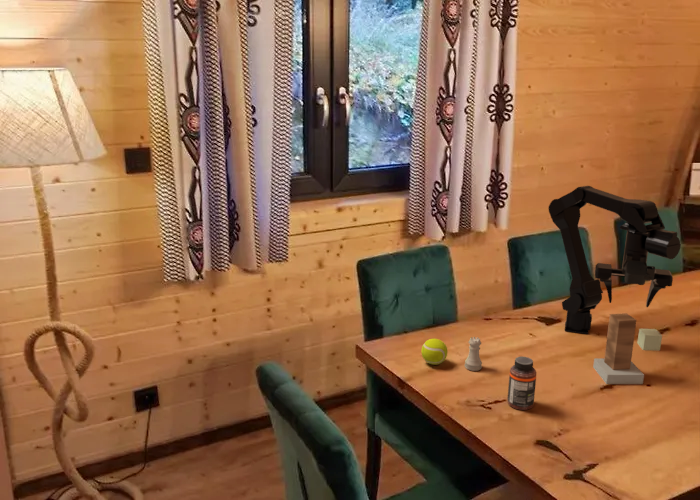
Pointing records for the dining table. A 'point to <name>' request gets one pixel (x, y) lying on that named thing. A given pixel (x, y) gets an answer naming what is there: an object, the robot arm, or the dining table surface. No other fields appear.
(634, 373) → the slate slab
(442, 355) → the tennis ball
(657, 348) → the sage cube
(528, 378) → the supplement bottle
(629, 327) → the walnut pillar
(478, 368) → the rook chess piece
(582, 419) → the dining table surface
